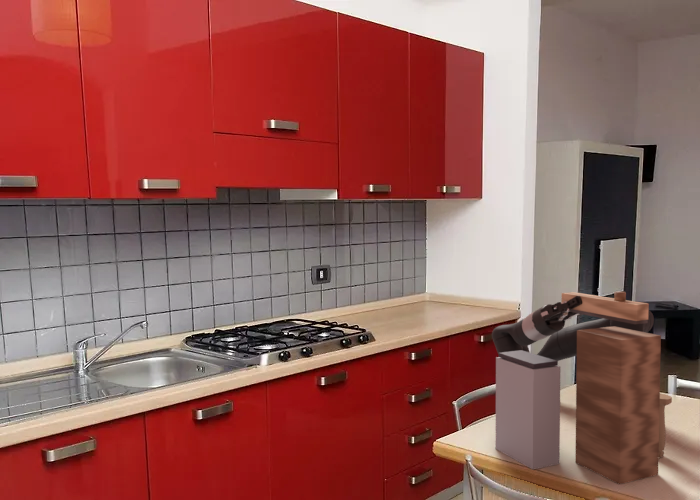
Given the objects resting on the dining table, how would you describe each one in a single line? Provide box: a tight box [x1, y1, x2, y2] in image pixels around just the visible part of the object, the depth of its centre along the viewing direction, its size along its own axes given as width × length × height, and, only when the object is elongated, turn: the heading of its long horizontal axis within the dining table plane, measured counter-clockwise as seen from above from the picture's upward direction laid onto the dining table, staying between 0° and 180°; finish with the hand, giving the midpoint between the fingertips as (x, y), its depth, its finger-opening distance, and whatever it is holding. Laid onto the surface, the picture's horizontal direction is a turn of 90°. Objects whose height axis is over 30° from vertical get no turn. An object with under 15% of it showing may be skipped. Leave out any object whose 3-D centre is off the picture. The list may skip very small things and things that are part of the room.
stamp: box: [560, 291, 650, 324], centre depth 143 cm, size 4×22×6 cm, turn 26°
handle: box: [659, 393, 673, 459], centre depth 146 cm, size 5×6×15 cm
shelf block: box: [574, 326, 662, 485], centre depth 139 cm, size 12×13×32 cm
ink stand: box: [495, 350, 561, 470], centre depth 147 cm, size 8×14×25 cm, turn 23°
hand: (586, 298), depth 147 cm, fingers closed on stamp, 4 cm apart
